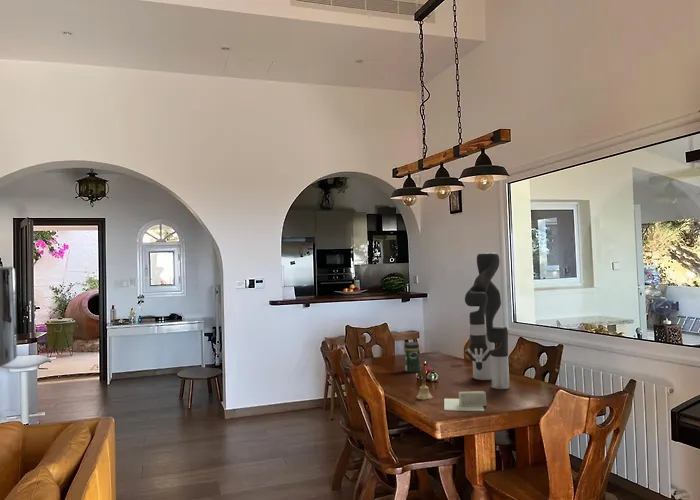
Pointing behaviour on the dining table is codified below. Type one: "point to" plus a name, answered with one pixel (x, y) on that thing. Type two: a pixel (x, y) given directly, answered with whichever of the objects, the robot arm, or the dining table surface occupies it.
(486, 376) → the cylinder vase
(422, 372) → the hand bell
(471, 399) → the skincare box
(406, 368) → the coffee jar
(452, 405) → the mat
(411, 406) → the dining table surface
